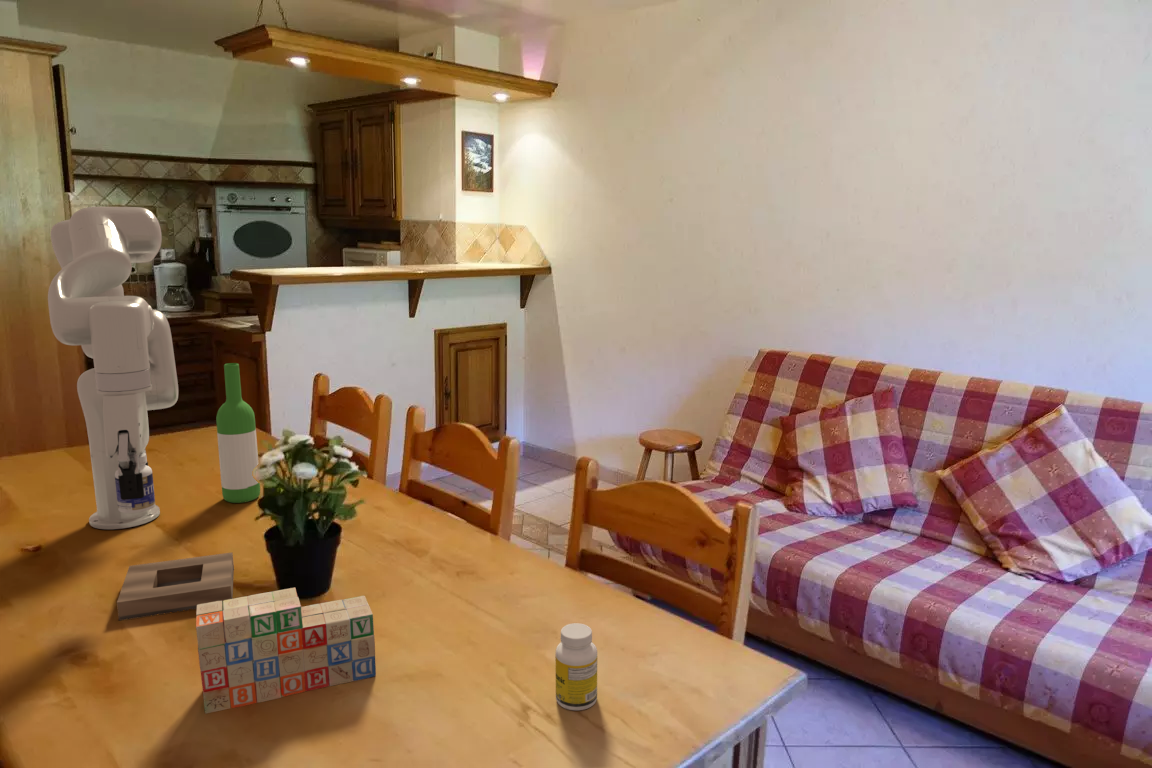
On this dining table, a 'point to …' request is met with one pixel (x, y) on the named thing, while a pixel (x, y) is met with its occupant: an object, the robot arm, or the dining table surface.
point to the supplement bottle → (576, 668)
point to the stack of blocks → (280, 647)
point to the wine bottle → (237, 442)
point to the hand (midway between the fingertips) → (135, 491)
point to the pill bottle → (148, 485)
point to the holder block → (175, 585)
